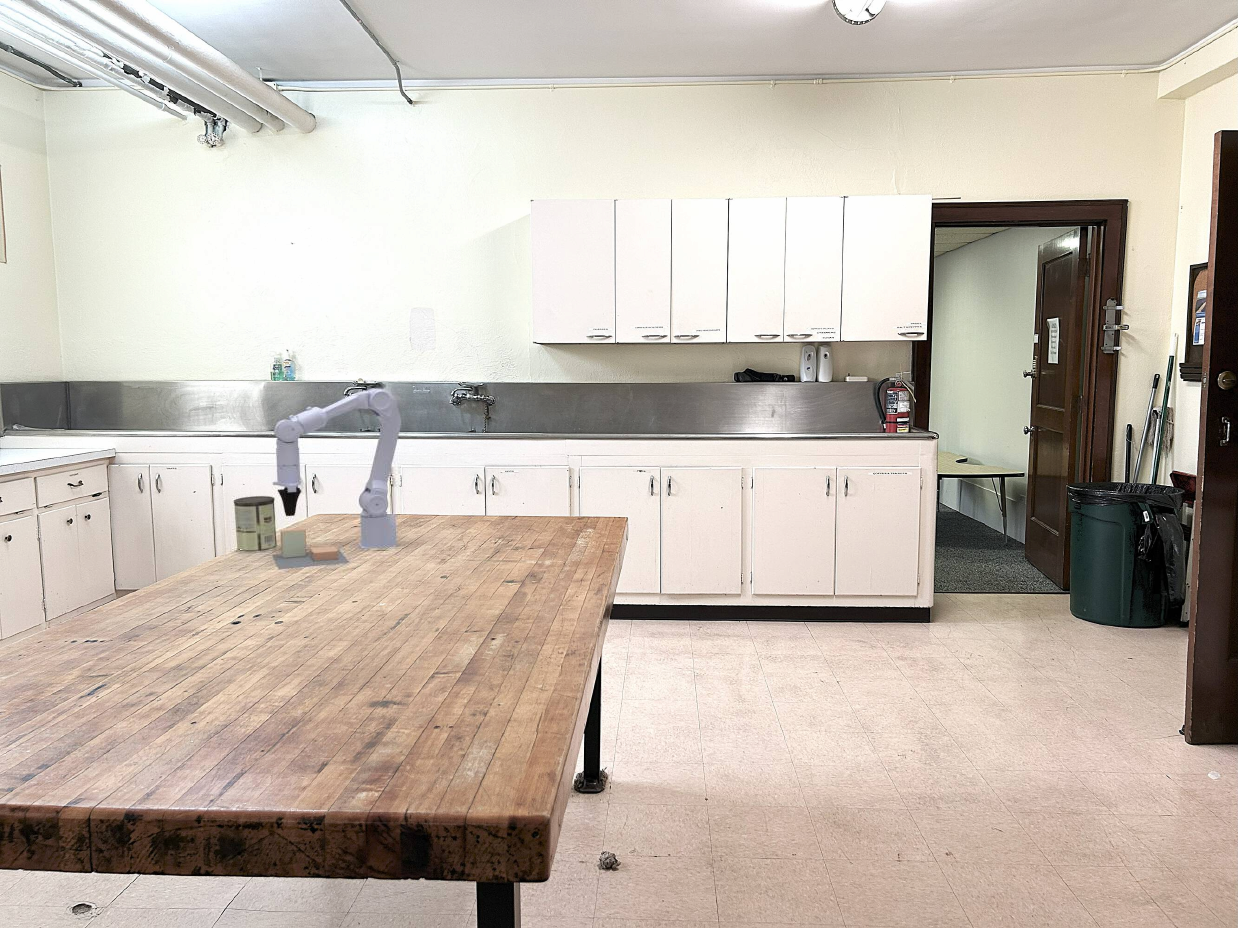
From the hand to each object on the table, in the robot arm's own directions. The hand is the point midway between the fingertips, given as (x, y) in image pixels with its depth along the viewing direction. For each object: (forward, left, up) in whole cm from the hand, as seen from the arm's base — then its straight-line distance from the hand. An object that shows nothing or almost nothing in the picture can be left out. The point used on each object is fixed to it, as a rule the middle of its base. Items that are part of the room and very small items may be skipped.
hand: (290, 515), depth 236 cm
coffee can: (+8, -9, -10) cm, 16 cm away
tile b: (0, +6, -10) cm, 12 cm away
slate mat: (-4, +11, -10) cm, 15 cm away
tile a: (-7, +7, -9) cm, 13 cm away
